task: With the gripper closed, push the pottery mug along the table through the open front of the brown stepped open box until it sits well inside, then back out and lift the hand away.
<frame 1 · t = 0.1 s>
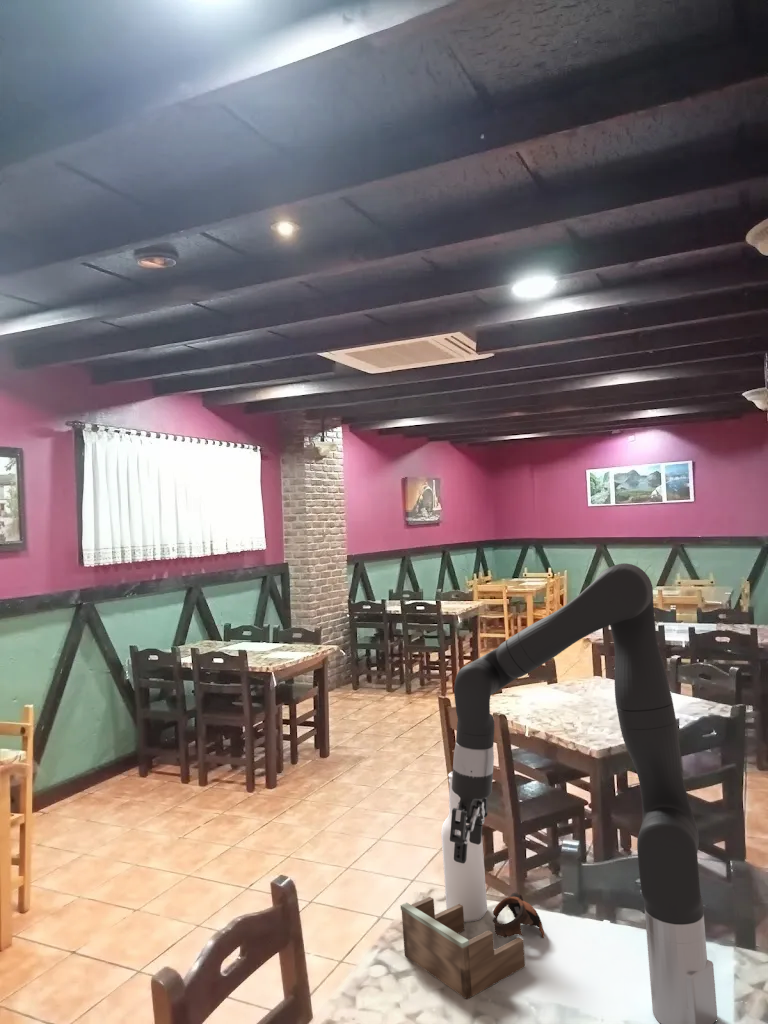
hand: (467, 852, 139), 22 cm above the table, tool pointing down, fingers open, 8 cm apart
brown stepped open box: (463, 960, 142), on the table
pottery mug: (519, 933, 151), on the table
alcohol: (467, 913, 160), on the table
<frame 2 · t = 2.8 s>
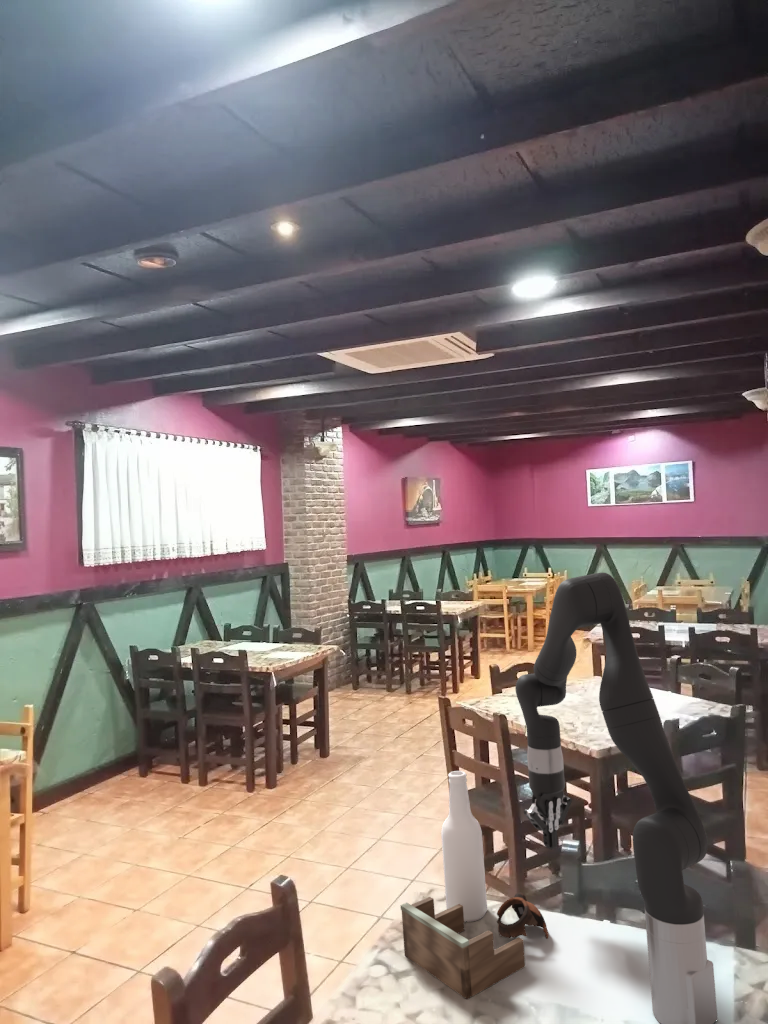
hand: (551, 847, 158), 14 cm above the table, tool pointing down, fingers closed
nothing on the table moved.
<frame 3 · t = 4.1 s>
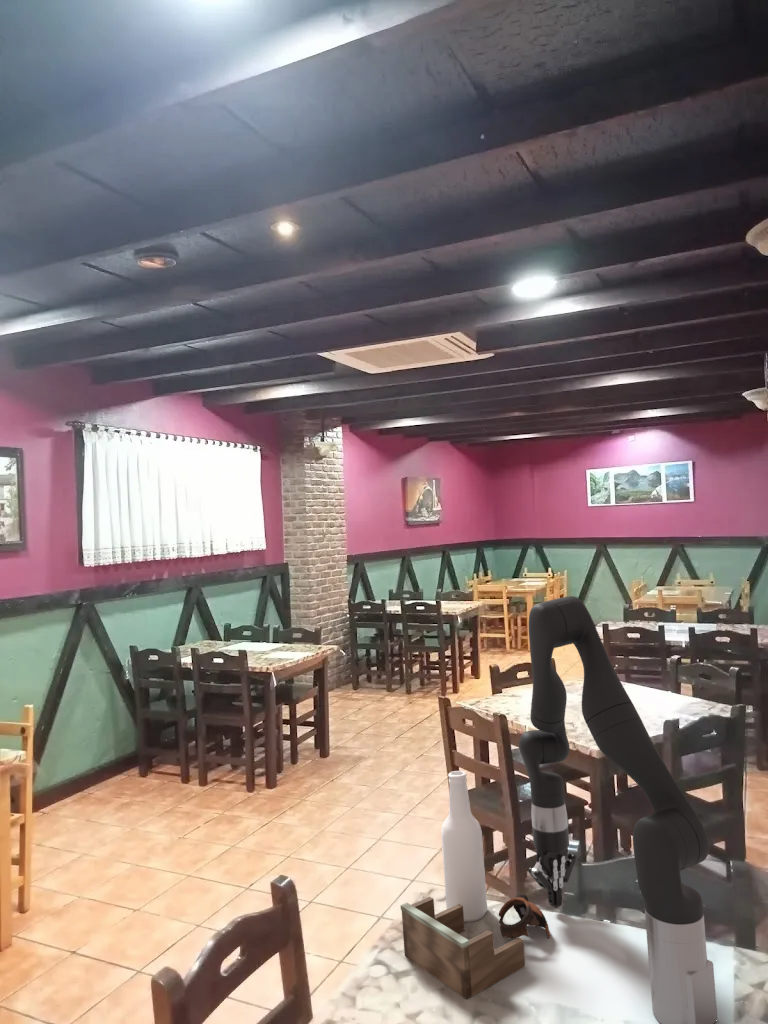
hand: (555, 905, 158), 2 cm above the table, tool pointing down, fingers closed
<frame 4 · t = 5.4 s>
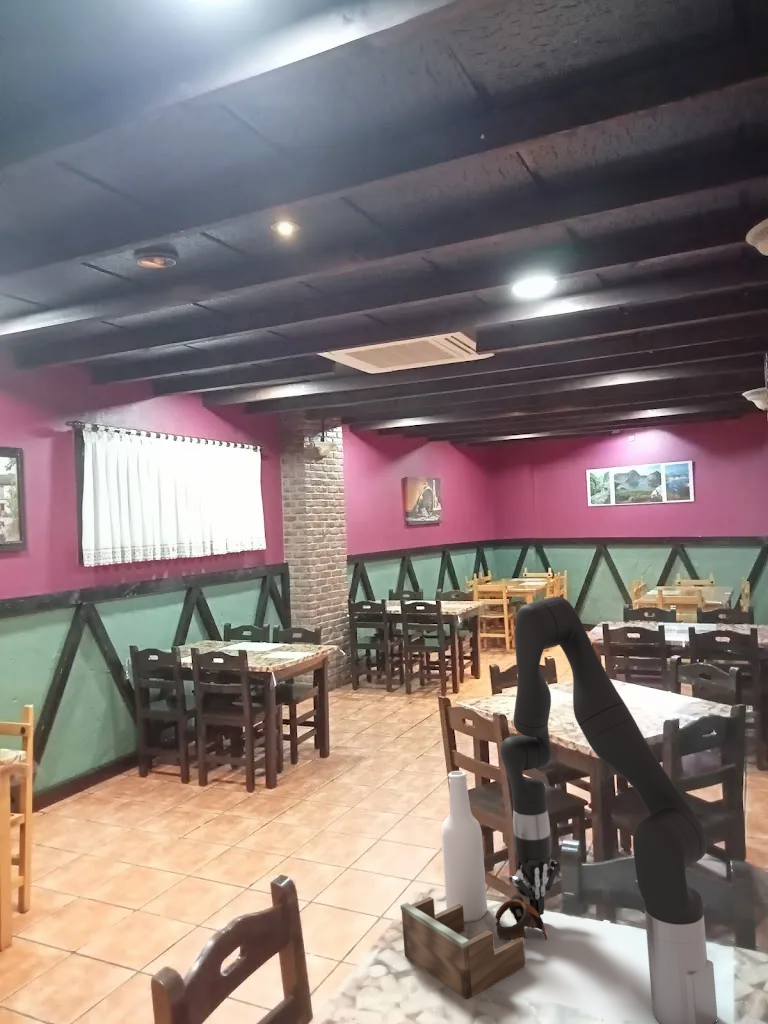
hand: (537, 913, 155), 2 cm above the table, tool pointing down, fingers closed
pottery mug: (521, 936, 150), on the table, touching gripper
everything else where it was.
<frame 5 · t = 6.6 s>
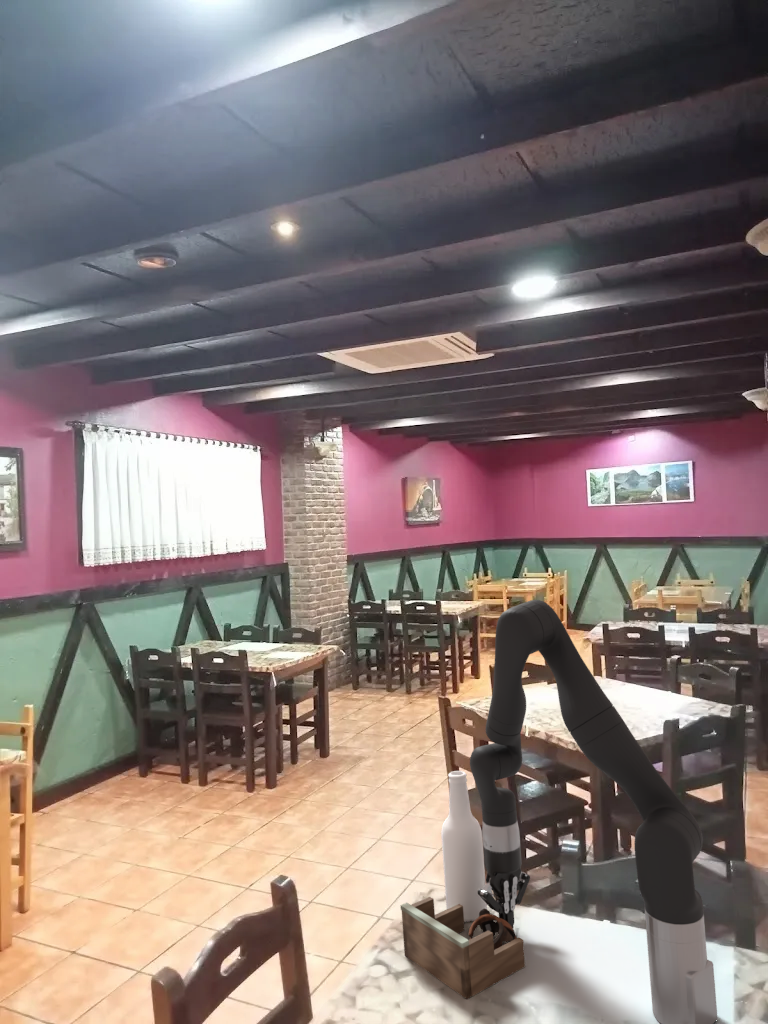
hand: (507, 928, 150), 2 cm above the table, tool pointing down, fingers closed
pottery mug: (494, 952, 145), on the table, touching gripper
everything else where it was.
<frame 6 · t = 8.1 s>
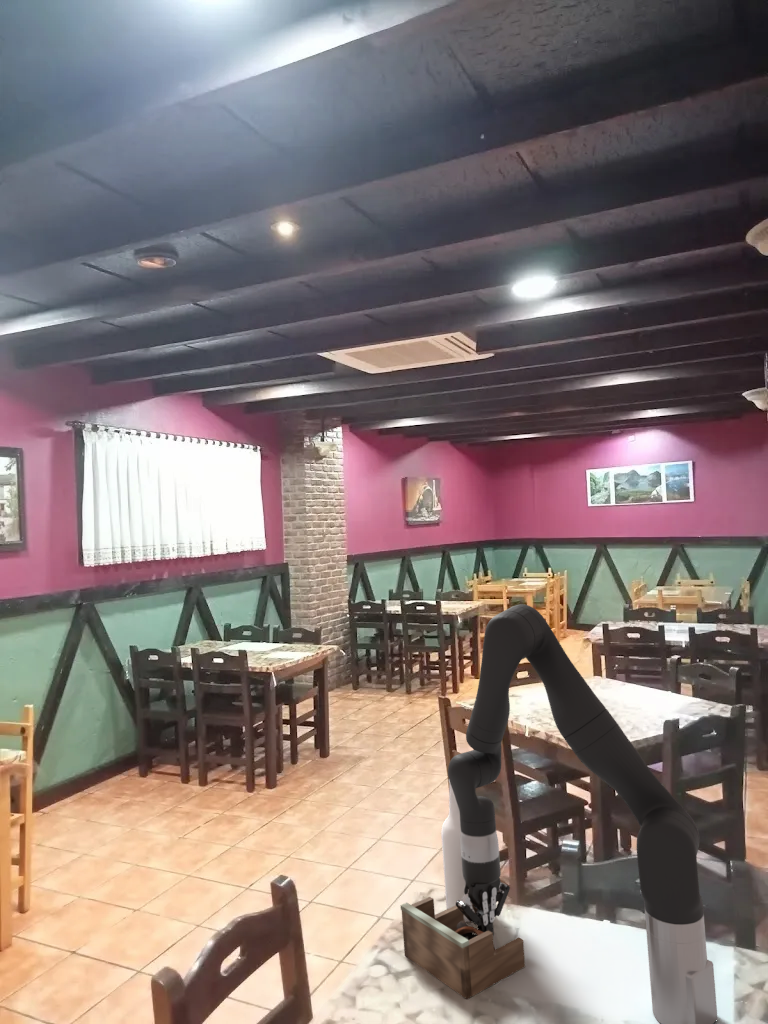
hand: (486, 940, 146), 1 cm above the table, tool pointing down, fingers closed
pottery mug: (472, 965, 141), on the table, touching gripper
everything else where it was.
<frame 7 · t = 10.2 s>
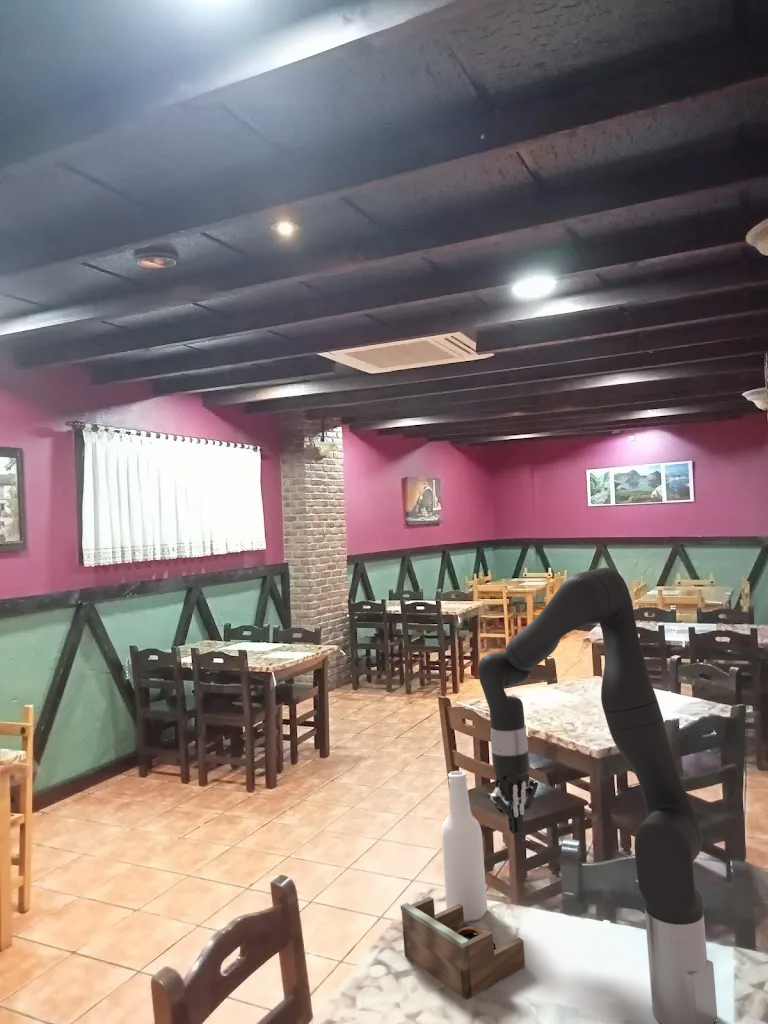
hand: (516, 833, 153), 20 cm above the table, tool pointing down, fingers closed
pottery mug: (474, 966, 141), on the table
everything else where it was.
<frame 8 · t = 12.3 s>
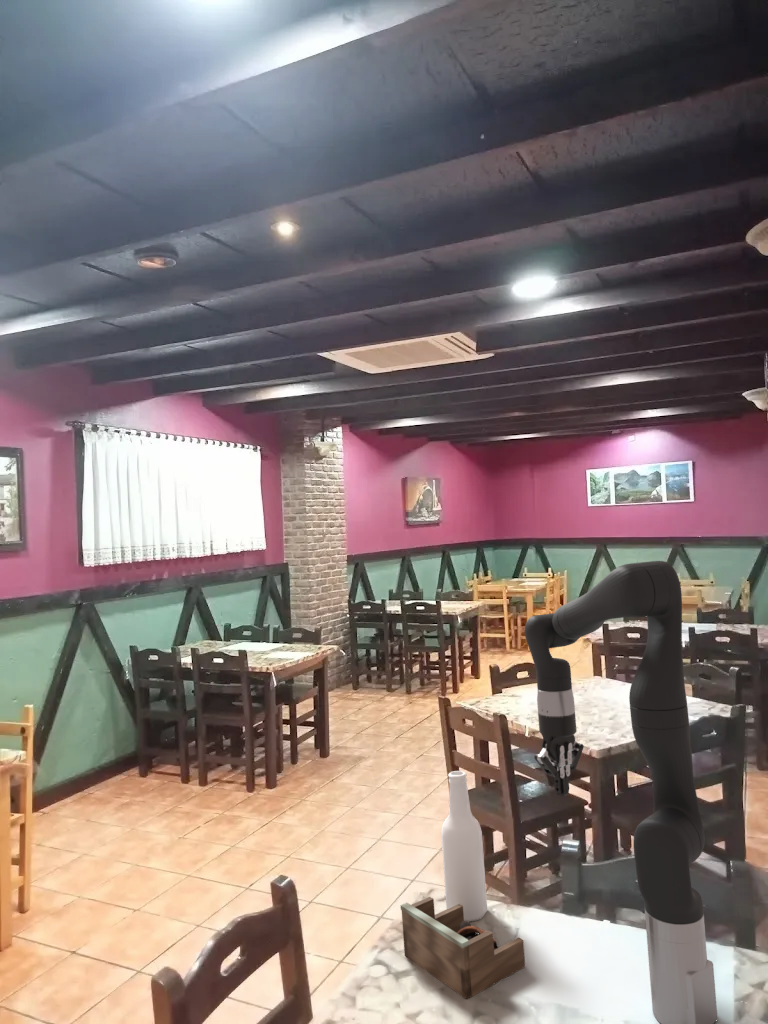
hand: (562, 794, 152), 27 cm above the table, tool pointing down, fingers closed
nothing on the table moved.
at the end: pottery mug inside the target area on the brown stepped open box (3.0 cm from its centre), point 0.0 cm above the brown stepped open box's base; pottery mug tilted 0° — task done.
